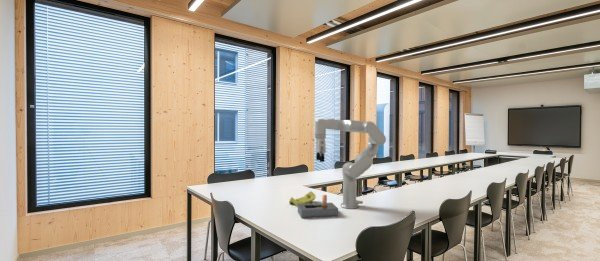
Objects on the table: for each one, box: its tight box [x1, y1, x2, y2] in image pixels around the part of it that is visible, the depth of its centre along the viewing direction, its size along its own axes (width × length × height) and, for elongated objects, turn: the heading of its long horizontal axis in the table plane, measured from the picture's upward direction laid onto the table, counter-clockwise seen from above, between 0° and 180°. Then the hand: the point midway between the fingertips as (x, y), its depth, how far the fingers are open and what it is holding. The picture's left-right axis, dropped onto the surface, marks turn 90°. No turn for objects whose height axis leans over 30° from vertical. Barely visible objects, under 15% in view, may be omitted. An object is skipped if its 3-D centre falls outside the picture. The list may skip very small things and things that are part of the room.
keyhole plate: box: [297, 202, 339, 219], centre depth 186 cm, size 24×14×5 cm, turn 100°
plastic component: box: [288, 190, 317, 207], centre depth 211 cm, size 20×7×10 cm
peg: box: [321, 194, 328, 207], centre depth 187 cm, size 5×5×11 cm
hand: (320, 160), depth 199 cm, fingers open, 9 cm apart
